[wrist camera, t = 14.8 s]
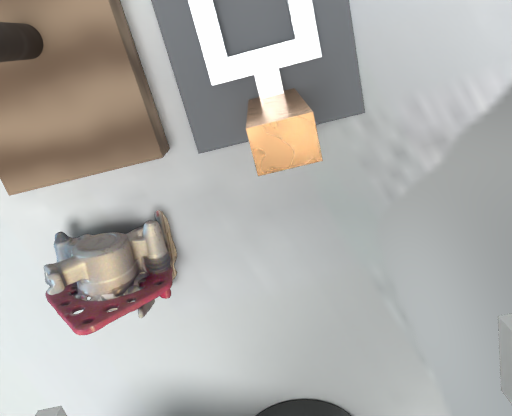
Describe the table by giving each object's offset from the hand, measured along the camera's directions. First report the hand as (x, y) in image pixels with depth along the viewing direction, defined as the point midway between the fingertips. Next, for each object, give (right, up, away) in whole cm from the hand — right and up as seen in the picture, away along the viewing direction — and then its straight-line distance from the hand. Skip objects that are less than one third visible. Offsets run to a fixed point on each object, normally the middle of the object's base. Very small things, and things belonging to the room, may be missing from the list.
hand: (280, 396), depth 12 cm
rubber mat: (-1, +20, +21) cm, 29 cm away
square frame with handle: (0, +19, +21) cm, 28 cm away
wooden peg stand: (-17, +17, +22) cm, 33 cm away
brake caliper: (-14, +1, +29) cm, 33 cm away
